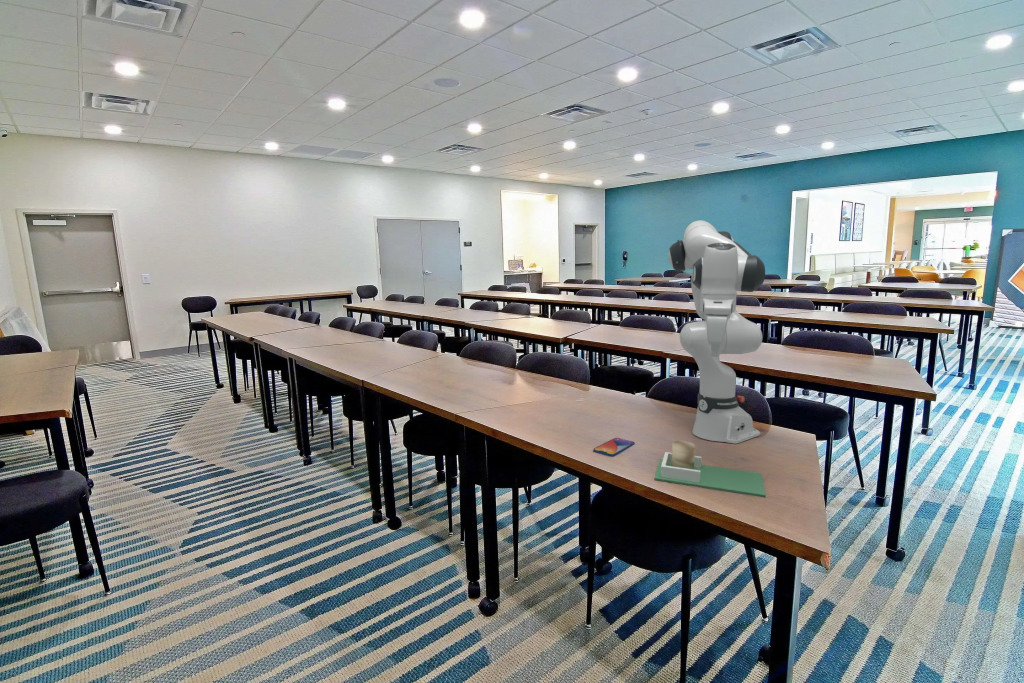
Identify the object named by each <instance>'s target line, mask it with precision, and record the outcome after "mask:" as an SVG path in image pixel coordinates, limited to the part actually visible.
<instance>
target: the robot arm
mask: <svg viewBox="0 0 1024 683" xmlns="http://www.w3.org/2000/svg"><path fill="white" fill-rule="evenodd" d="M667 258H668V262H669V264H670V265H671V267H672V269H673V270H675V271H676V272H684V271H686V270H688V271H689V270H693V271H692V273H691V280H690V281H691V282H690V283H691V284H690V285H691V294H692V298H693V303H694V308H695V311H696V314H697V315H698V317H700V319H702V320H698V321H693V322H688V323H686V324H684V326H683V327H682V328H681V331H680V333H679V342H680V345H681V347H682V348H683V349H684V351H685V352H687V353H688V354H689V355H690V356H691V357H692V358H693V359H694V362H696V364H697V366H698V370H699V392H697V409H696V416H695V421H694V423H693V428H692V430H691V431H692V434H693V435H694V436H696V437H697V438H700V439H703V440H707V441H712V442H720V443H721V442H724V443H729V444H734V445H735V444H736V445H737V444H739V443H742V442H745V441H747V440H751V439H754V438H756V437H759V436H761V432H760V431H759V430H758V429H756V428H755V427H754V423H753V422H754V421H753V418H752V416H751V414H749V413H748V412H746V411H745V410H744V409H743V408H742V407H740V406H739V402H740V403H744V402H745V401H746V400H745V396H742V395H739V394H738V395H736V386H737V375H736V371H735V370H734V369H733V368H732V367H731V366H728V365H727V364H725V363H723V362H721V360H720V355H743V354H749V353H754V352H756V351H757V350H759V348H760V347H761V345H762V342H763V332H762V330H761V328H760V327H759V325H758V324H757V323H755V322H753V321H751V320H748V319H747V318H745V317H744V316H742V315H741V314H740V313H739V311H737V310H736V307H737V294H738V292H746V293H753V292H755V291H756V290H757V289H758V288H760V287H761V286H762V285H763V283H764V282H765V278H766V267H765V263H764V262H763V260H762V259H761V258H760V257H758V256H757V255H756V254H755V255H753V254H752V253H750V252H749V251H747V250H746V249H745V248H744V247H743V246H742V245H741V244H740V243H738V242H737V241H735V240H734V238H733V237H732V235H731V233H729V232H728V231H725V230H724V231H718V230H717V229H716V227H715V226H714V225H713V224H711V223H710V222H708V221H705V220H702V219H701V220H700V219H699V220H695V221H692V222H691V223H690V224H689V225H688V226H687V227H686V228H685V230H684V233H683V239H681V240H680V239H678V240H676V242H674V243H673V244H671V246H670V247H669V250H668V257H667Z"/></svg>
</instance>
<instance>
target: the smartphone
mask: <svg viewBox="0 0 1024 683" xmlns="http://www.w3.org/2000/svg"><path fill="white" fill-rule="evenodd" d="M635 444H636V443H635V441H632V440H630V439H629V440H628V439H625V438H620V437H614V438H612V439H610V440H608V441H605V442H604V443H602V444H600V445H598V446H596V447H594V448H593V450H592V452H593V453H595V454H600V455H602V456H603V455H604V456H606V457H610V458H611V457H612V458H615V457H616V456H618V455H620V454H621V453H623V452H625V451H626V450H628V449H629V448H631V447H633V446H635Z"/></svg>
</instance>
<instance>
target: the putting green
mask: <svg viewBox="0 0 1024 683" xmlns="http://www.w3.org/2000/svg"><path fill="white" fill-rule="evenodd" d="M702 460H703V458H702V456H698V455H695V460H694V470H693V469H686V468H679V467H672V466H671V461H672V452H670V451H669V452H668V451H665V452H664V455H663V459H662V458H660V459H659V461H658V465H657V468H656V472H655V475H654V478H653V480H654V481H656V482H657V481H658V482H664V483H670V484H676V485H683V486H690V487H695V488H696V487H697V488H702V489H710V490H715V491H722V492H728V493H735V494H740V495H746V496H747V495H748V496H753V497H759V498H761V497H762V498H766V497H767V495H766V489H765V485H764V481H763V480H764V479H763V473H761V472H758V471H757V472H756V471H748V470H741V469H733V468H728V467H727V468H726V467H722V466H721V467H719V466H712V465H706V464H705V465H704V464H702V462H703V461H702Z"/></svg>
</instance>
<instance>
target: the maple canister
mask: <svg viewBox="0 0 1024 683" xmlns="http://www.w3.org/2000/svg"><path fill="white" fill-rule="evenodd" d="M671 453H672V461H671V466H672V467H679V468H686V469H693V470H694V460H695V456H696V444H695V443H693V442H691V441H687V440H675V441H673V442H672V443H671Z"/></svg>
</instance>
